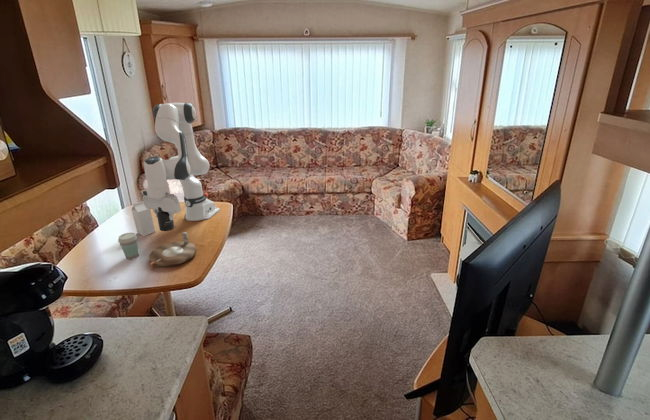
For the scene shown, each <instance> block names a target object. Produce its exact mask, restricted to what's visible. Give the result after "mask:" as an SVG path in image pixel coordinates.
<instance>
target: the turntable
mask: <svg viewBox="0 0 650 420" xmlns="http://www.w3.org/2000/svg"><path fill="white" fill-rule="evenodd" d="M181 235H182V241H180V240H179V241H178V240H177V241H172V242H168V243H164V244H161V245H159V246H157V247H155V248H154V249H153V250H152V251H151V252H150V253H149V255H148V259H149V262H150V263H152V262H155V263H156V267H157V266H158V267H173V266H172V265H175V266H178V265H181V264H184V263H185V261H186V262H188V261H189V260H191V259H192V258H193V257H195V255H196V253H197V249H196V246H195V244H194V243H192V242H190V241H189V236H188V233H187V231H183V232H182V233H181ZM183 262H184V263H183ZM180 263H181V264H180ZM177 264H178V265H177Z"/></svg>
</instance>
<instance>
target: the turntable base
mask: <svg viewBox="0 0 650 420" xmlns="http://www.w3.org/2000/svg"><path fill="white" fill-rule="evenodd" d="M185 262H187V261H185ZM185 262H183V263H180V264H177V265H172V266H171V267H174V266H178V265H181V264H184V263H185ZM149 266H150V269H151V271H155V270H156V269H158V268H157V265H156V263H155V262H152V263H151V262H150V264H149Z"/></svg>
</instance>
